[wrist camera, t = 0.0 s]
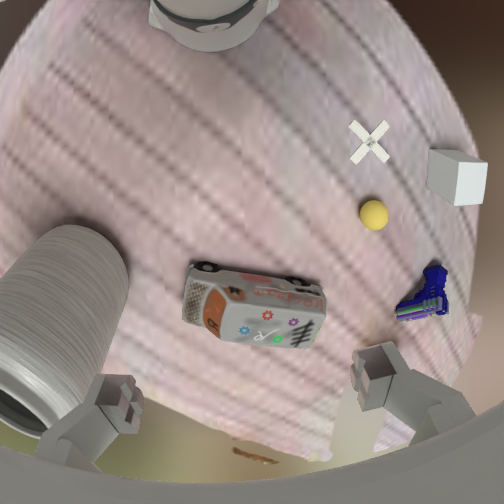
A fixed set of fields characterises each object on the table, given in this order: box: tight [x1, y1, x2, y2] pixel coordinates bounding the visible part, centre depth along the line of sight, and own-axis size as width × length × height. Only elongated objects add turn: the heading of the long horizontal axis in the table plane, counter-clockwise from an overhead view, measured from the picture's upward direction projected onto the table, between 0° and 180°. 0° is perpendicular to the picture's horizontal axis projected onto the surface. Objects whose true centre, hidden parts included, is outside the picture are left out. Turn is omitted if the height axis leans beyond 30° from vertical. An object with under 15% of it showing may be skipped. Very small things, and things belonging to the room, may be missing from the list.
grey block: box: [426, 149, 488, 206], centre depth 42 cm, size 7×7×9 cm
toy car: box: [182, 261, 326, 349], centre depth 53 cm, size 11×25×10 cm, turn 77°
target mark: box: [348, 119, 390, 164], centre depth 44 cm, size 9×9×1 cm
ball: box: [360, 200, 389, 230], centre depth 48 cm, size 5×5×5 cm
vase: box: [0, 225, 129, 439], centre depth 37 cm, size 20×20×34 cm
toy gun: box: [396, 265, 449, 322], centre depth 57 cm, size 4×13×10 cm
